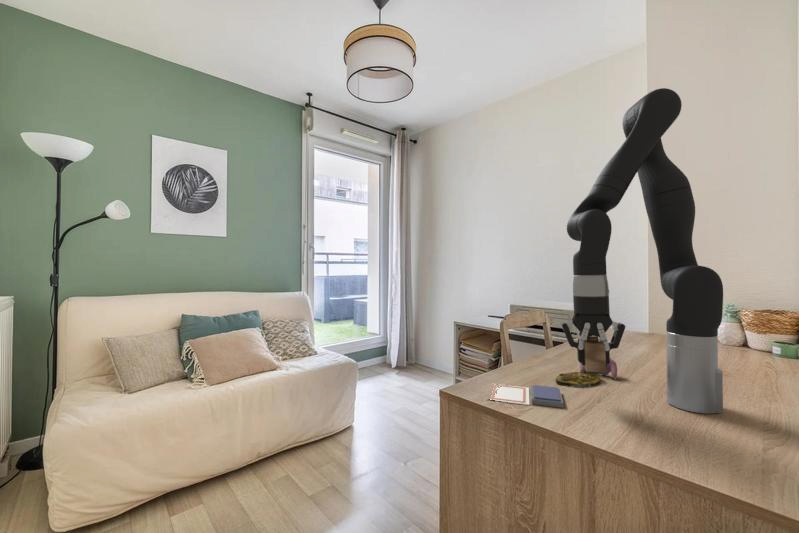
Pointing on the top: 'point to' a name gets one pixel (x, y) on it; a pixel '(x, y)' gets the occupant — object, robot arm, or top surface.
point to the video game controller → (607, 368)
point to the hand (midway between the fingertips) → (593, 364)
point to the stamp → (594, 356)
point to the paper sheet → (511, 394)
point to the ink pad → (546, 396)
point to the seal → (578, 379)
